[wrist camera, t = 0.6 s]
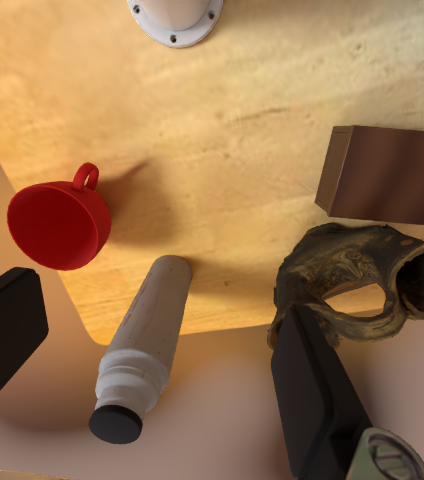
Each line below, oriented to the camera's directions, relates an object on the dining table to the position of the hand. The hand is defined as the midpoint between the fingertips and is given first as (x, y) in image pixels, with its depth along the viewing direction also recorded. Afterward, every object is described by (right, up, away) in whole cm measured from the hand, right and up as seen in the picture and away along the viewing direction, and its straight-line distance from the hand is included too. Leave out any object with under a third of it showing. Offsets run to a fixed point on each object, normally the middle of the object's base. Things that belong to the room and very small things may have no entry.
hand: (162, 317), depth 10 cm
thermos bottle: (-6, -3, +40) cm, 40 cm away
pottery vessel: (+21, +1, +36) cm, 42 cm away
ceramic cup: (-19, +10, +35) cm, 41 cm away
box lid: (+25, +11, +24) cm, 36 cm away
